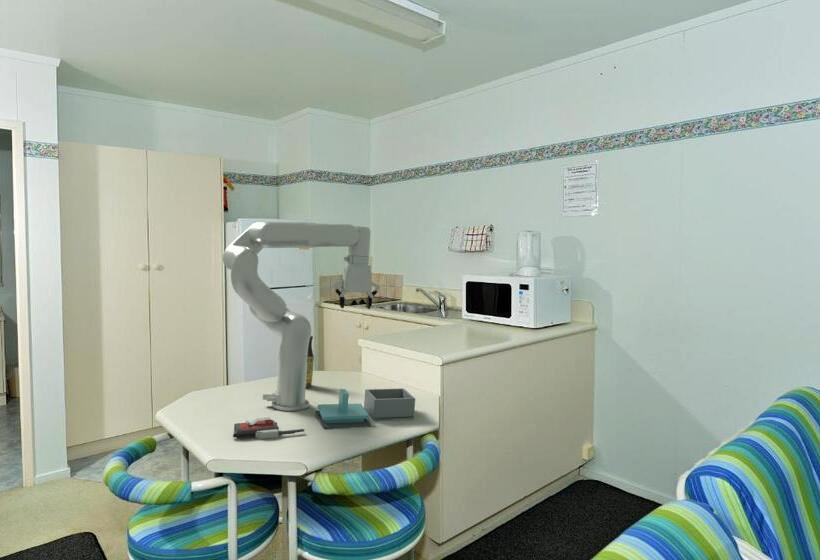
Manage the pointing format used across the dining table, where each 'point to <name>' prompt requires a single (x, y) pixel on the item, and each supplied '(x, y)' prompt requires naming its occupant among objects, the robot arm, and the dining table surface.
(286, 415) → the dining table surface
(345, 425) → the mat
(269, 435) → the walkie-talkie
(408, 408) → the tub
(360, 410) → the lid
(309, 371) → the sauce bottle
